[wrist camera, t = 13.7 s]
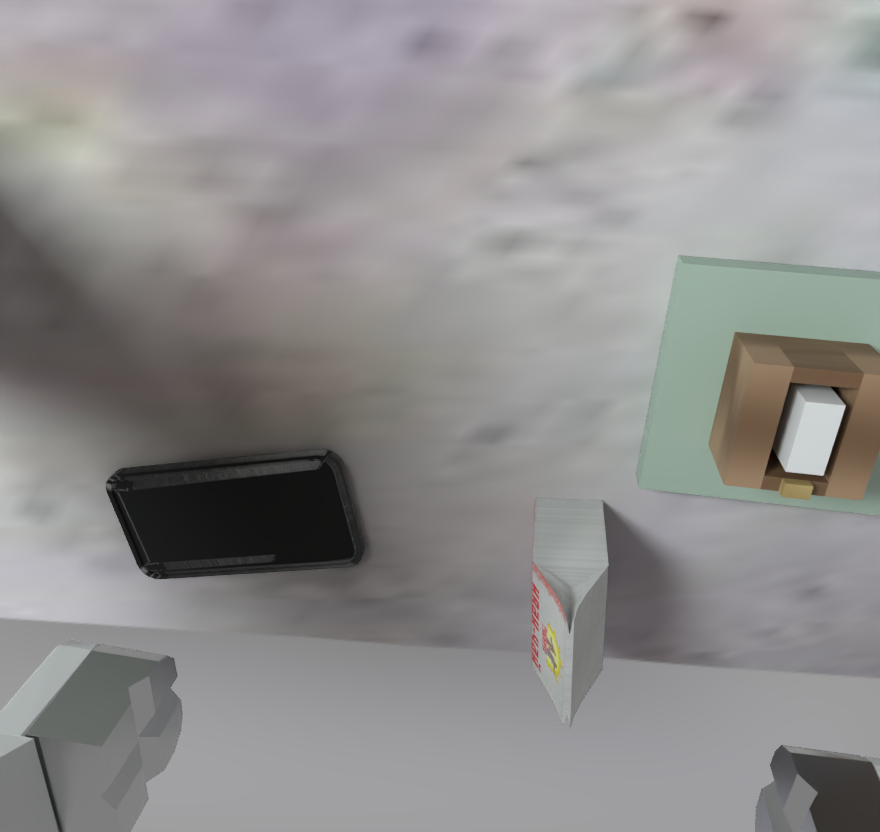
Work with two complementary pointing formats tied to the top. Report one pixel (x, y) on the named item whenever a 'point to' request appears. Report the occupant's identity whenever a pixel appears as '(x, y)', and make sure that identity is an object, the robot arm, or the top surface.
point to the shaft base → (705, 360)
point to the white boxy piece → (568, 598)
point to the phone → (239, 515)
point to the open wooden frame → (761, 402)
